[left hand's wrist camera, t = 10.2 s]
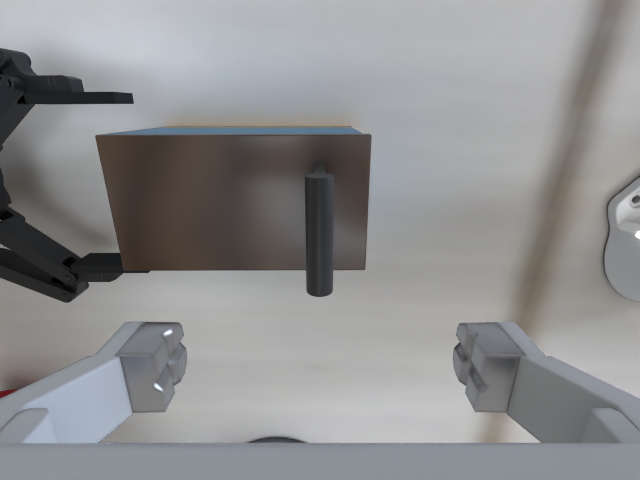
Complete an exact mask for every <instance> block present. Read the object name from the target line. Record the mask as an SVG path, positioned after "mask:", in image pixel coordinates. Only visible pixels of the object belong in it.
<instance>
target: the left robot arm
mask: <svg viewBox="0 0 640 480" xmlns="http://www.w3.org/2000/svg"><path fill="white" fill-rule="evenodd" d="M634 196H635V198H634V200H633V201H632V199H633V197H634ZM608 219H609V225H610V234H609V238H608V241H607V245H606V249H605V255H604V267H605V272H606V275H607V278H608V280H609V282H610V284H611V285H612V287H613V288H614V289H615V290H616V291H617V292H618V293H619V294H620V295H622V296H624V297H625V298H627V299H630V300H632V301H635V302H639V303H640V177H639V178H638V179H637V180H635V181H634V182H633V183H631V184H630V185H629V186H628V187H626V188H625V189H624V190H623V191H621V192H620V193H619V194H617V195H616V196H615V197H614V198H613V199H612V200H611V201H610V203H609V205H608ZM183 336H184V333H183V328H182V325H181V324H180V323H178V322H127V323H124V324H123V325H122V326H121V327H120V329H119V330H118V331H117V332H116V333H115V334H114V335H113V336H112V337H111V338H110V339H109V340H108V342H107V343H106V344H105V345H104V346H103V347H102V348H101V349H100V350H99V351H98V352H97V353H96V354H95V356H88V357H86V358H84V359H82V360H80V361H77V362H75V363H73V364H71V365H69V366H67V367H65V368H63V369H61V370H59V371H57V372H55V373H52V374H50V375H48V376H46V377H44V378H42V379H40V380H38V381H36V382H34V383H32V384H30V385H28V386H25V387H23V388H21V389H19V390H17V391H15V392H13V393H11V394H9V395H7V396H5V397H3V398H0V480H640V399H639V398H637V397H635V396H633V395H631V394H629V393H627V392H625V391H623V390H621V389H619V388H616V387H614V386H612V385H610V384H608V383H606V382H604V381H602V380H600V379H598V378H596V377H594V376H592V375H589V374H587V373H585V372H583V371H581V370H579V369H577V368H575V367H573V366H571V365H569V364H567V363H565V362H563V361H560V360H558V359H556V358H554V357H552V356H545V355H544V353H543V352H542V351H541V350H540V349H539V348H538V347H537V346H536V345H535V344H534V343H533V342H532V340H531V339H530V338H529V337H528V336H527V335H526V334H525V333H524V332H523V331H522V330H521V329H520V327H519V326H518V325H517V324H516V323H514V322H486V323H459V325H458V328H457V333H456V336H457V338H458V339H459V341H460V343H459V344H458V345H457V346H456V347H455V348H454V353H453V364H454V370H455V373H456V376H457V378H458V380H459V381H460V382H461V383H463V384H464V385H465V386H466V392H465V394H466V395H467V397H468V399H469V401H470V403H471V405H472V407H473V409H474V411H475V412H496V413H507V415H508V416H510V417H511V418H512V419H513V420H515V421H516V422H517V423H518V424H519V425H521V426H522V427H523V428H524V429H526V430H527V431H528V432H529V433H530V434H532V435H533V436H534V437H535V438H536V439H538V440H539V441H540V442H541V443H99V442H100V441H101V440H102V439H104V438H105V437H106V436H107V435H109V434H110V433H111V432H112V431H113V430H115V429H116V428H117V427H118V426H119V425H121V424H122V423H123V422H124V421H126V420H127V419H128V418H129V417H130V416H132V415H133V413H143V412H165V411H166V409H167V407H168V405H169V403H170V401H171V399H172V397H173V395H174V394H175V392H174V386H175V385H176V384H177V383H179V382H180V381H181V380H182V378H183V376H184V374H185V369H186V365H187V352H186V348H185V347H184V346H183V345H182V344H181V343H180V341H181V339H182V338H183Z"/></svg>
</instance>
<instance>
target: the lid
mask: <svg viewBox="0 0 640 480" xmlns="http://www.w3.org/2000/svg"><path fill="white" fill-rule="evenodd" d="M95 137H96V142H97V146H98V151H99V156H100V160H101V165H102V170H103V174H104V179H105V184H106V189H107V193H108V198H109V203H110V207H111V212H112V217H113V221H114V226H115V231H116V235H117V240H118V245H119V249H120V254H121V259H122V263H123V268H124V270H125V271H162V270H306V286H307V293H308V294H310V295H312V296H316V297H324V296H327V295H330V294H331V293H332V291H333V270H365V263H366V242H367V220H368V199H369V177H370V156H371V135H370V134H102V135H96V136H95Z"/></svg>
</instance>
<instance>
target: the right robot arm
mask: <svg viewBox="0 0 640 480" xmlns="http://www.w3.org/2000/svg"><path fill="white" fill-rule="evenodd" d="M35 104H134V102H133V96H132V93H120V92H84V89H83V85H82V80H80V79H78V78H75V77H70V76H62V75H57V76H38V75H36V74H35V73H34V72H33V70H32V69H31V60H30V58H29V56H28V55H27V54H25V53H23V52H18V51H13V50H7V49H2V48H0V151H1V150H2V149H3V146H2V144H3V142H4V141H5V140H6V139H7V138H8V136H9V135H10V134H11V133H12V132H13V130H14V129H15V128H16V127H17V125H18V124H19V123H20V122H21V121H22V119H23V118H24V117H25V116H26V115H27V113H28V112H29V111H30V110H31V109H32V107H33V106H34V105H35ZM10 203H11V200H10V196H9V194H8V192H7V190H6V189H5V187H4V185H3V174H2V171H1V168H0V220H2V221H0V243H1V244H2V245H4V246H5V247H7V248H9V249H10V250H8V249H4V248H0V278H2V279H5V280H8V281H10V282H13V283H16V284H18V285H21V286H23V287H26V288H29V289H31V290H34V291H36V292H39V293H42V294H44V295H47V296H50V297H52V298H55V299H57V300H60V301H63V302H66V303H67V302H70V301H72V300H73V299H75V298H76V297H77V296H78V295H80V294H81V293H82V292H84V291H85V290H86V289H87V288H88V287H89V284H88V282H111V281H113V280H116V279H117V278H118V277H119V276H120V275H122V274H123V273H149V272H150V271H125V270H124V268H123V263H122V259H121V254H120V253H89V254H88V255H86V256H85V257H83V258H80V257H79V256H77V255H76V254H74V253H73V252H71V251H70V250H68V249H66V248H65V247H63V246H62V245H60V244H59V243H57V242H56V241H54V240H52V239H51V238H49V237H48V236H46V235H45V234H43V233H42V232H40V231H38V230H37V229H35V228H34V227H32V226H31V225H29V224H28V223H26V222H25V217H23V216H22V215H20V214H19V213H17V212H16V211H14V210H13V209H11V208H10V207H8V204H10ZM11 250H12V251H11ZM252 443H302V442H299V441H295V440H291V439H284V438H269V439H262V440H258V441H255V442H252Z"/></svg>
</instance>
